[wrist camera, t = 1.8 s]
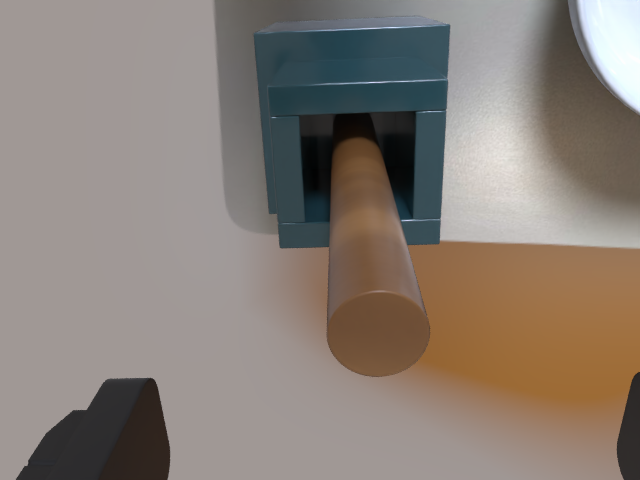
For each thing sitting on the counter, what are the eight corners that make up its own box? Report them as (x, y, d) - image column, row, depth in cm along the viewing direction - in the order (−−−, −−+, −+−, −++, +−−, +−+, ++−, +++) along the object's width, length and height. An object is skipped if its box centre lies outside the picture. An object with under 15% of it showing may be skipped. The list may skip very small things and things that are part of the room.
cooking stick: (332, 106, 29) (324, 292, 11) (373, 105, 29) (432, 289, 11) (333, 146, 30) (328, 378, 12) (373, 145, 30) (428, 376, 12)
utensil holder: (275, 21, 38) (224, 46, 21) (420, 15, 38) (491, 35, 20) (284, 161, 42) (248, 279, 25) (415, 157, 42) (472, 274, 24)
